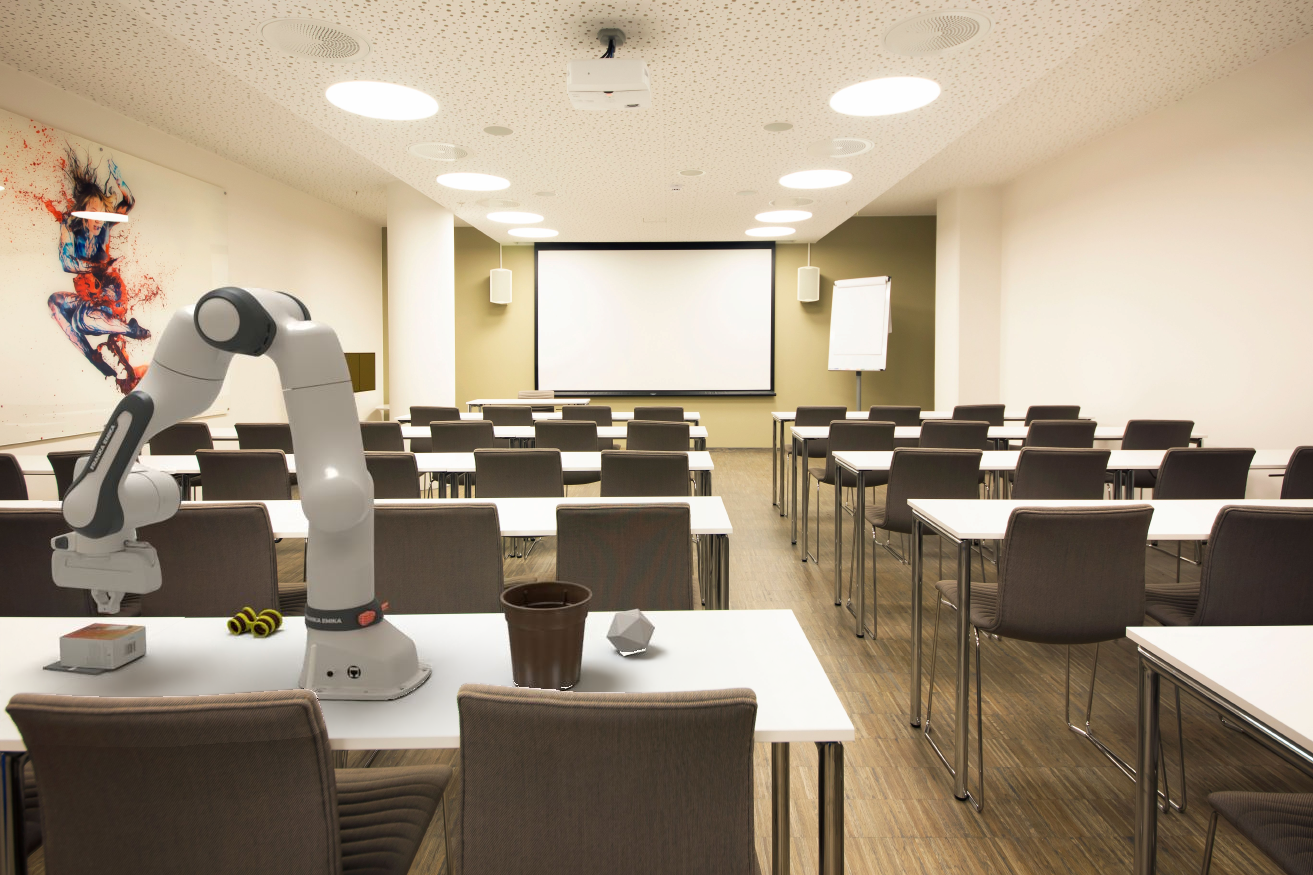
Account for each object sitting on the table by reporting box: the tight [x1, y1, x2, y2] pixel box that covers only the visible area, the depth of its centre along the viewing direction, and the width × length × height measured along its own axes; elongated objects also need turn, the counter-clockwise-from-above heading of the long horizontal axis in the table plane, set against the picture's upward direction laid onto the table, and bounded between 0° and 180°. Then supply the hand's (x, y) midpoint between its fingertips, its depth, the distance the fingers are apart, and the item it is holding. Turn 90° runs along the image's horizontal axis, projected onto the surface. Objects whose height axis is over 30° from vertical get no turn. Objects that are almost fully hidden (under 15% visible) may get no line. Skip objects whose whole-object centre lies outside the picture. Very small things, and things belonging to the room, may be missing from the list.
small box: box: [58, 622, 147, 670], centre depth 136 cm, size 8×6×10 cm
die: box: [606, 608, 656, 652], centre depth 147 cm, size 8×9×10 cm
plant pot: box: [500, 580, 593, 691], centre depth 132 cm, size 16×16×16 cm
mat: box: [42, 654, 146, 676], centre depth 137 cm, size 12×10×1 cm
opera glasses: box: [226, 606, 284, 638], centre depth 153 cm, size 10×5×5 cm, turn 78°
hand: (109, 612), depth 135 cm, fingers closed
